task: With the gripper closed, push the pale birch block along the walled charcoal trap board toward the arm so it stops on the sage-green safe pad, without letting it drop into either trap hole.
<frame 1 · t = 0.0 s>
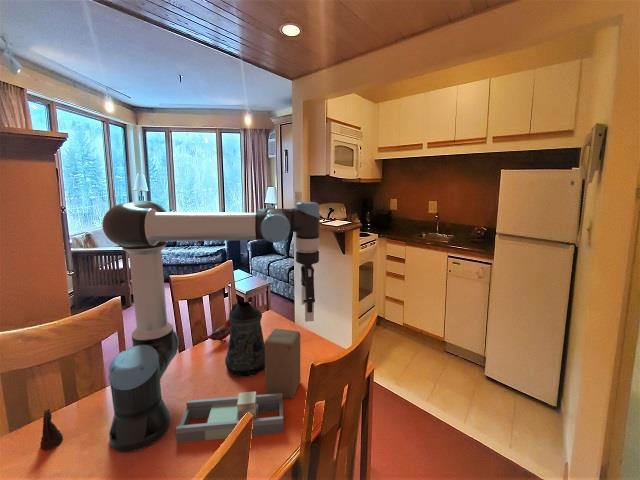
hand: (307, 312, 103), 28 cm above the table, fingers open, 13 cm apart
trap board: (234, 422, 92), on the table
decorative bird figurine: (219, 344, 136), on the table
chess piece: (52, 444, 84), on the table
birch block: (247, 412, 92), point 3 cm above the table, touching trap board
wooden block: (283, 388, 107), on the table
beer stein: (244, 364, 122), on the table
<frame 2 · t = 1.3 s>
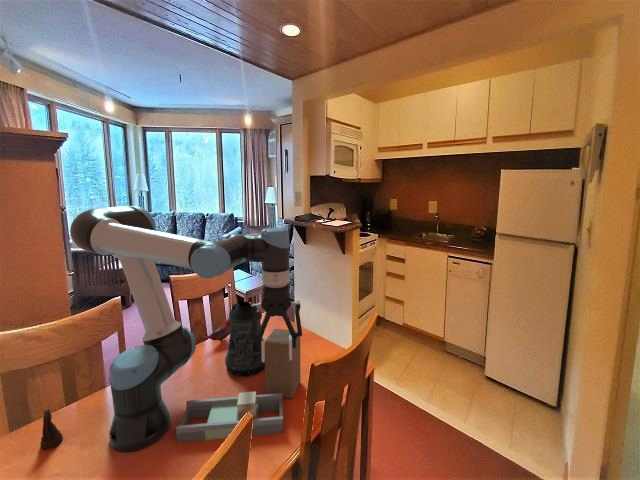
hand: (277, 358, 90), 20 cm above the table, fingers open, 7 cm apart
nothing on the table moved.
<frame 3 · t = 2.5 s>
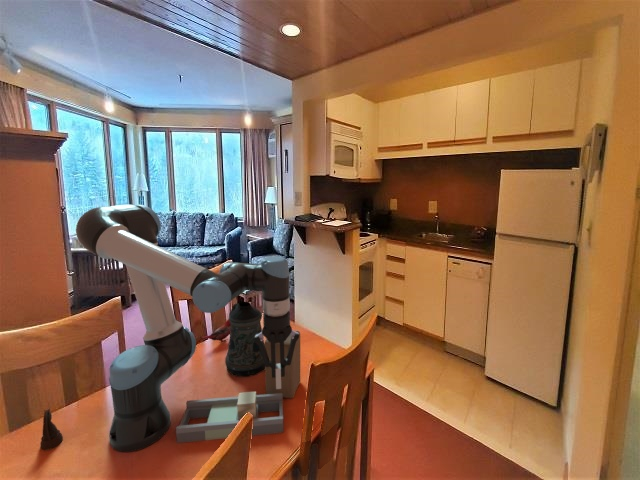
hand: (278, 385, 91), 11 cm above the table, fingers closed
nothing on the table moved.
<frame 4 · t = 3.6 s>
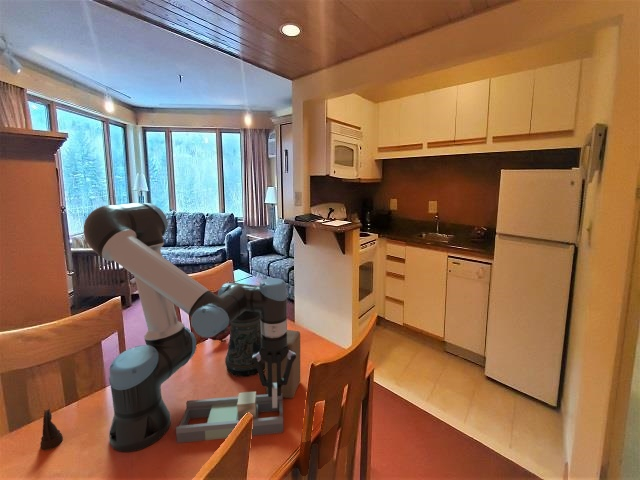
hand: (274, 404, 93), 5 cm above the table, fingers closed
nothing on the table moved.
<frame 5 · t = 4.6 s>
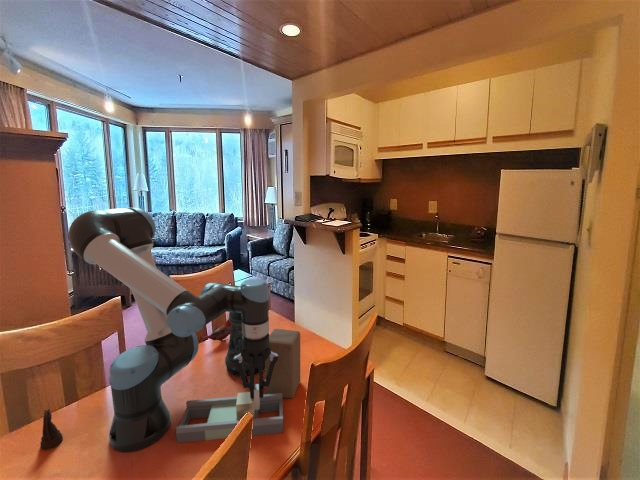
hand: (257, 406, 92), 5 cm above the table, fingers closed
birch block: (246, 412, 92), point 3 cm above the table, touching gripper, trap board
everything else where it was.
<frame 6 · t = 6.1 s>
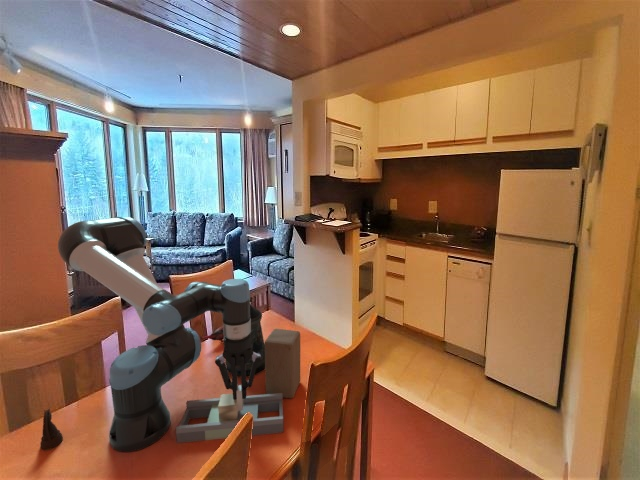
hand: (240, 407, 91), 5 cm above the table, fingers closed
birch block: (229, 414, 91), point 3 cm above the table, touching gripper, trap board
everything else where it was.
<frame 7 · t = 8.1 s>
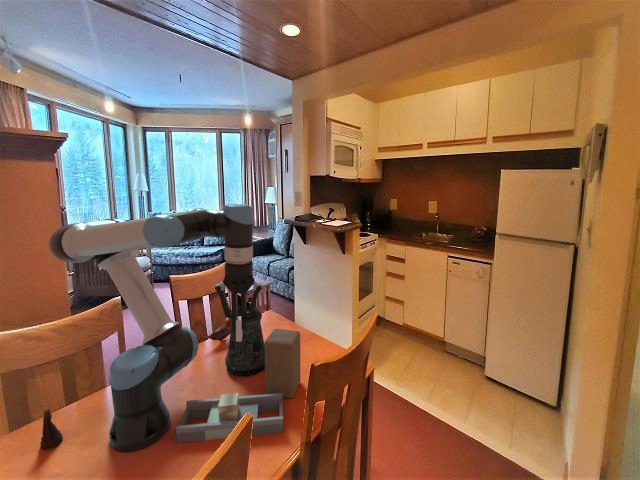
hand: (239, 339, 89), 26 cm above the table, fingers closed
birch block: (229, 414, 91), point 3 cm above the table, touching trap board
everything else where it was.
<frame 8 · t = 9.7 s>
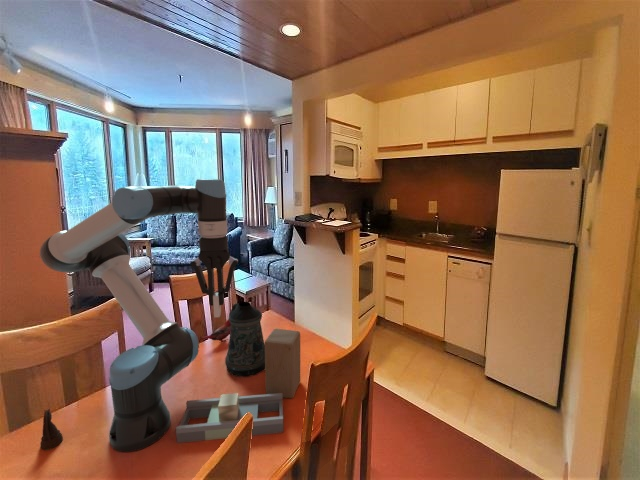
hand: (217, 315, 90), 32 cm above the table, fingers closed
nothing on the table moved.
at the end: birch block 1.1 cm from the target spot on the trap board, point 3.0 cm above the trap board's base; birch block tilted 0°; the gripper is holding nothing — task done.
